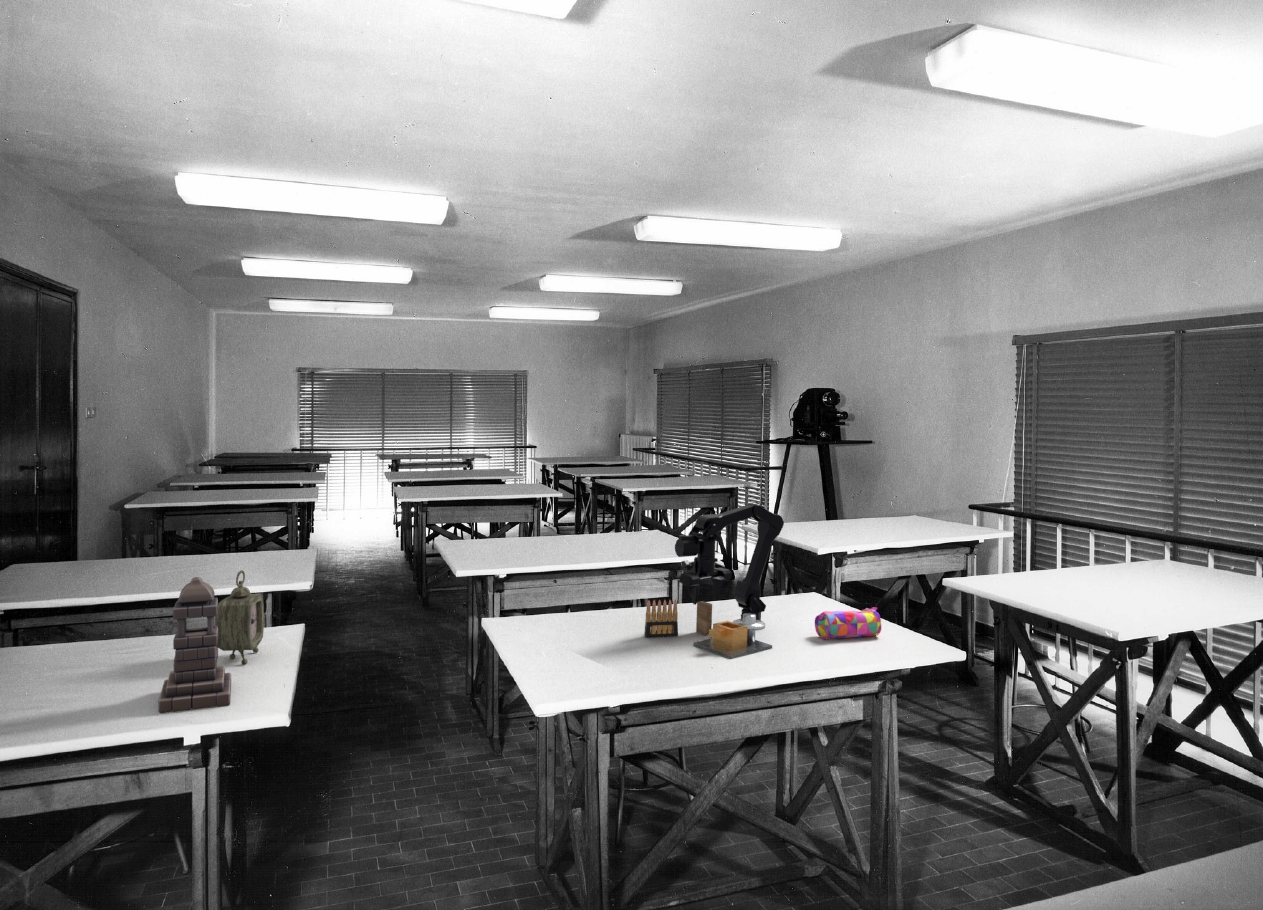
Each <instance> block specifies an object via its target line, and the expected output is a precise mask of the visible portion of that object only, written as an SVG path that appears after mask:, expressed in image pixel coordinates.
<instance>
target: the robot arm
mask: <svg viewBox="0 0 1263 910" xmlns="http://www.w3.org/2000/svg"><path fill="white" fill-rule="evenodd" d="M751 518H752V519H753V520H754V521H756V523H757V527H756V528H757V534H758V536H757V541H756V543H755V546H754V550H753V553H752V556H751V559H750V563H749V565H748V568H747V571H746V575H745V577H744V578H743V579H742V580H737V581H736V587H735V588H734V590H733V593H734V595H733V596H734V599H735V601H736V603H737V606H738V607H739V608H741V614H740V619H743V614H745V613H751V614H755V615H756V620H760V621H762V612H765V611H766V607H767V605H766V604H765V603H764V601H763V600H762V599H761V593H762V590H761V579H762V577H763V573H764V569H765V566H766V563H767V560H768V557H769V554H770V550H771V548H772V544H773V542H774V541H775V540H776V539H777V537H779V535H780V533H781V532H782V530H783V529H784V528H783V527H784V524H785V521H784V518H783V517H782V516H781V515H780V514H778V513H773V512H771V511H769V510H768V509H766V508H764V507H763V506H761V505H760V504H758V503H753V502H749V503H747V504H746V505H743V506H740V507H736V508H734V509H731V510H728V511H727V510H726V511H724V512H721V513H717V514H716V513H714V514H702V515H701V514H700V515H699V516H698V517H697V518H696V520H695V524H694V525H693V527H692V528H691V529H690V532H688V535H683V534H681V535H680V534H679V535H678V539H677V540H676V542H675V544H674V551H675V555H676V556H677V557H679V558H683V557H694V558H693V561H691V562H690V561H689V560H682V561H680V562H681V563H680V568H681V571H682V572H684V573H680V575H678V582H679V583H681V584H682V586H685V587H686V588H687V590H688V592H689V595H690V599H691V600H692V605H696V606H697V602H698V600H699V596H700V595H699V593H700V589H701V585H700V582H701V581H702V580H709V579H710V580H711V582H712V597H713V598H712V599H713V601H717V600H718V598H719V597H720V594H721V593H722V591H723V589H724V588H725V586H726V584H727V583H728V582H730V581H729V580H730V579H732V576H733V575H732V574H733V573H732V570H731V569H728V568H724V567H715V566H716V562H717V563H718V562H719V560H718V558H717V557H716V542H720V541H722V540H723V539H722V538H721V537H720V536H719V535H718V534H719V533H720V532H721V531H723V529H724V528H726V527H728V526H730V525H734V524H736V523H740V522H742V521H745V520H748V519H751ZM695 556H696V557H695Z"/></svg>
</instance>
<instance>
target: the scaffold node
mask: <svg viewBox="0 0 1263 910" xmlns="http://www.w3.org/2000/svg"><path fill="white" fill-rule="evenodd" d="M765 628H766V622H765V621H762V620H761V621H760V620H756V615H755V614H751V613H745V614H743V619H741V618H737V619H735V620H733V621H730V620H726V621H720V622H716V623H712V629H710V630H709V635H708V637H710V638H707V639H702V640H698V641H694V642H693V646H694V647H697V648H700V649H703V650H704V651H708V652H711V653H713V654H716V655H719V656H722V657H725V658H727V659H730V660H732V659H737V658H740V657H744V656H748V655H752V654H756V653H759V652H764V651H767V650H773V645H772V644H769V643H767V642H763V641H760V640H757V639H756V631H762V630H763V629H765Z"/></svg>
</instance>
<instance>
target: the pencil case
mask: <svg viewBox="0 0 1263 910" xmlns="http://www.w3.org/2000/svg"><path fill="white" fill-rule="evenodd" d="M877 610H878V607H874V606H873V607H871V608H868V607H866V608H865V609H862V610H860V611H858V610H850V611H849V610H848V611H847V610H845V611H843V610H840V611H839V610H836V611H831V610H830V611H826V610H825V611H822V612H821V613H818V615H816V616H815V618H814V629H815V632H816V634H817V635H818V636H819V638H820V639H822V638H823V639H822V640H828V639H848V638H850V639H851V638H862V637H861V636H867V637H876V636H875V635H877V636H879V635H880V634H881V632H882V618H881V615H880V614H879V612H877Z"/></svg>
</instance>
